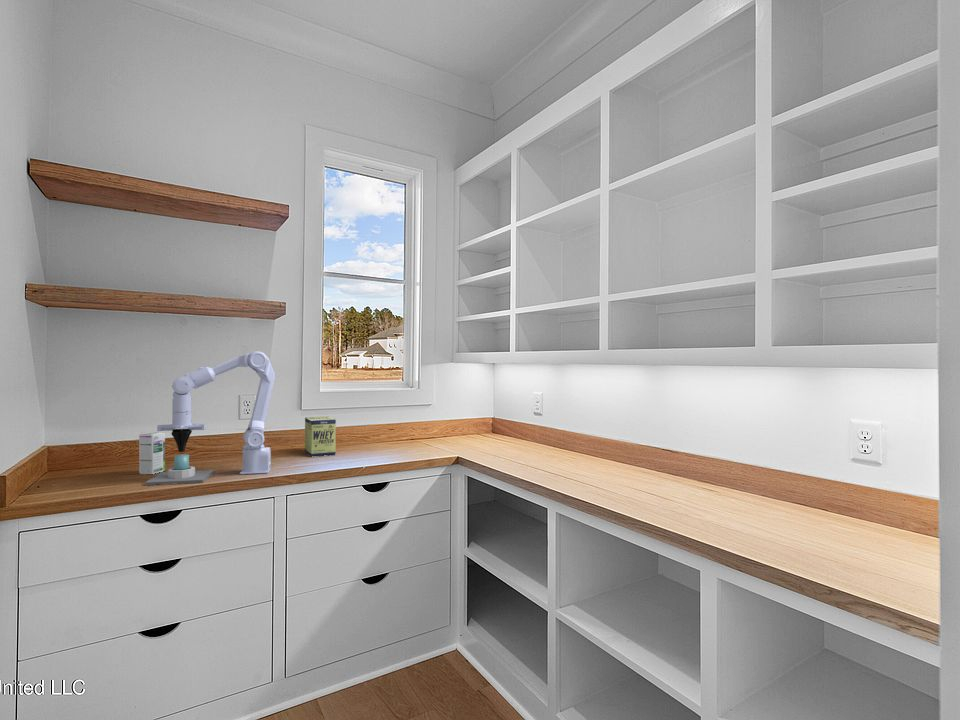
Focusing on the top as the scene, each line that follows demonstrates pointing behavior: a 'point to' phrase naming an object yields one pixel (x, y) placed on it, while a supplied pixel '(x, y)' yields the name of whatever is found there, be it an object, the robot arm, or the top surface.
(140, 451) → the syrup box
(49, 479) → the top surface
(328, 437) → the protein box
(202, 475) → the gray square plate
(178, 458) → the teal rounded cylinder
